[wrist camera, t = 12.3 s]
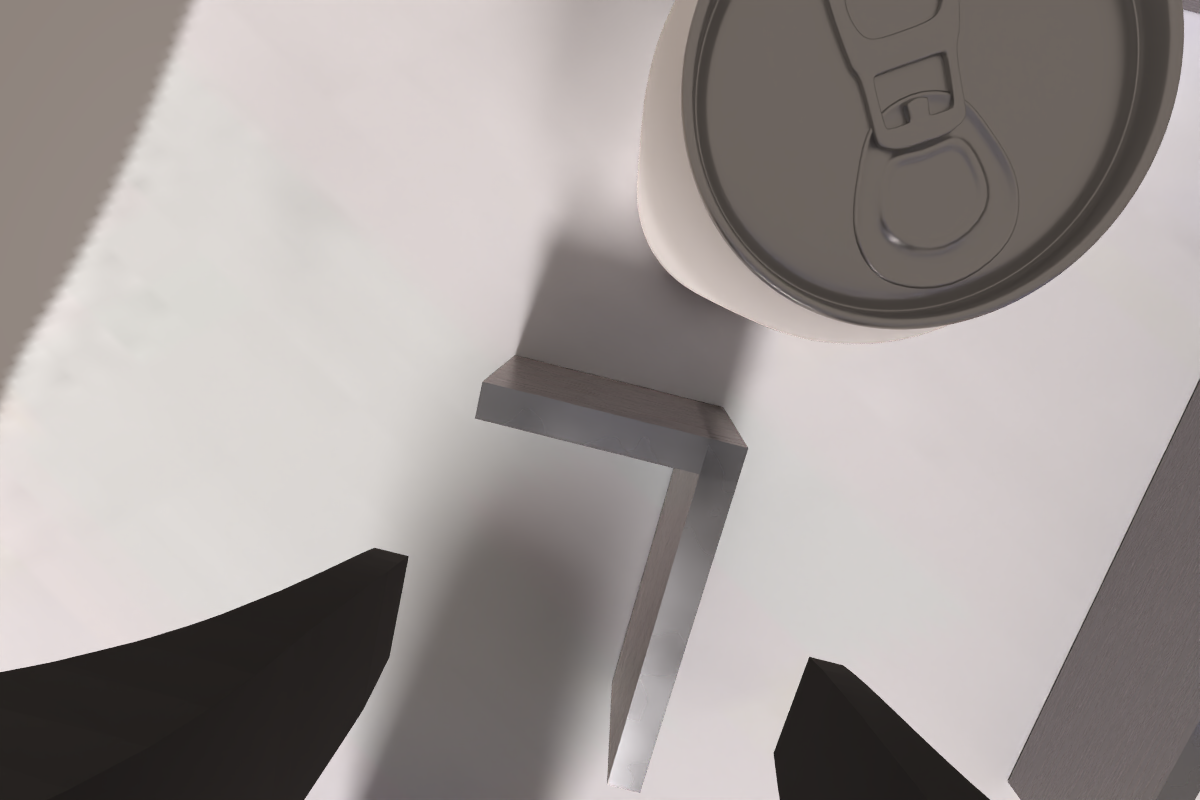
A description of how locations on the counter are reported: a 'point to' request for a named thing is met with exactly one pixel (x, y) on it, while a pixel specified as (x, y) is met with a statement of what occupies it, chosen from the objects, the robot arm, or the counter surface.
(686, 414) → the rail channel
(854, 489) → the counter surface
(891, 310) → the can
